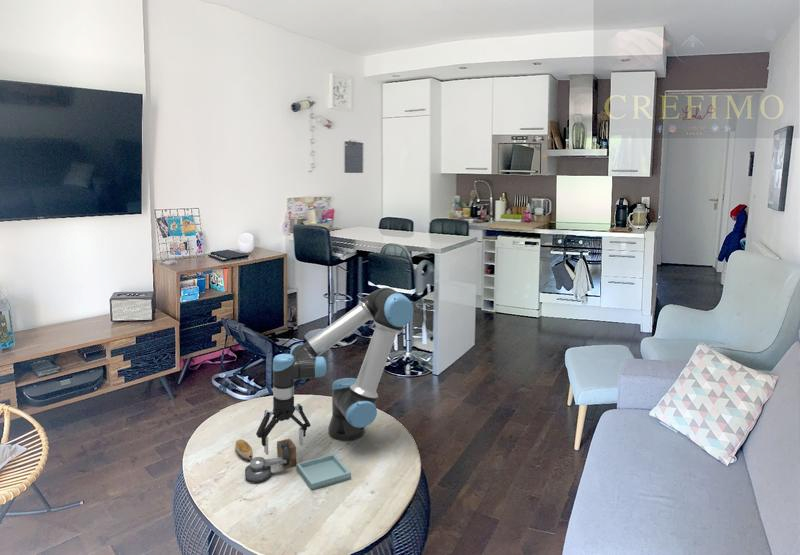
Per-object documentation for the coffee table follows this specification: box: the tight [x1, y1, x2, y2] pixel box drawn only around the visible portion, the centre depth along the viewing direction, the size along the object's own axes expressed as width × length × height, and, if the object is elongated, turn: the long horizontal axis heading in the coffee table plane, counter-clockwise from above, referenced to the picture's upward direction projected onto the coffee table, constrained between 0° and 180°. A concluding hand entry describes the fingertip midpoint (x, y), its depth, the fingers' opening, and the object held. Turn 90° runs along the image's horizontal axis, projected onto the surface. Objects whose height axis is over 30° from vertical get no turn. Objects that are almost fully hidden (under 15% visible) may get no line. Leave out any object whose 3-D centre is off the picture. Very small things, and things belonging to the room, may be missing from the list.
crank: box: [249, 443, 289, 472], centre depth 202 cm, size 14×5×8 cm, turn 110°
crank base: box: [244, 464, 272, 485], centre depth 202 cm, size 10×9×3 cm
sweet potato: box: [235, 439, 254, 461], centre depth 217 cm, size 5×14×4 cm, turn 32°
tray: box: [295, 453, 352, 491], centre depth 204 cm, size 15×15×2 cm
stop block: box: [276, 437, 297, 470], centre depth 210 cm, size 5×7×8 cm
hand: (284, 448), depth 211 cm, fingers open, 13 cm apart
